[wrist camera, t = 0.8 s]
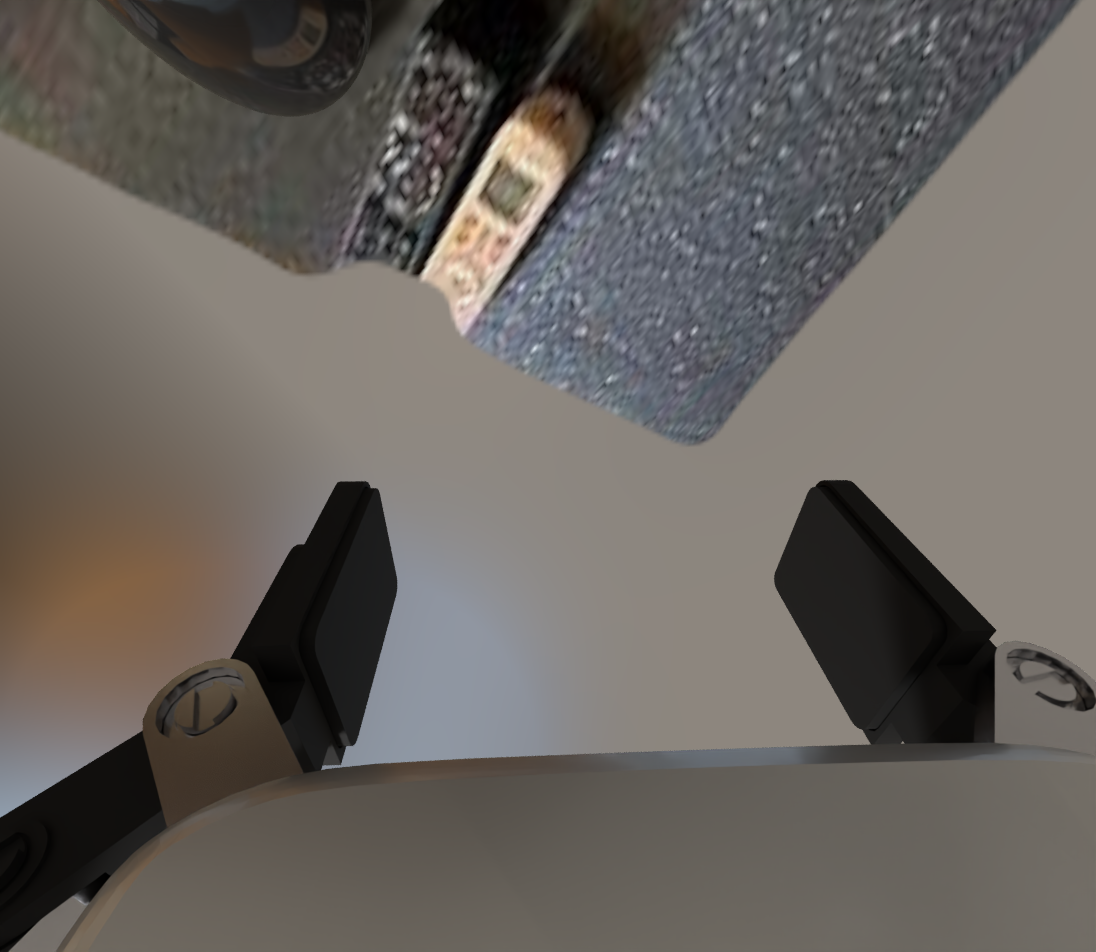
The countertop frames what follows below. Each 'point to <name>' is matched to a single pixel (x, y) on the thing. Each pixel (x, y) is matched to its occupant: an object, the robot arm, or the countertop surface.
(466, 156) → the countertop surface
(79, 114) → the countertop surface
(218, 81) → the pump dispenser
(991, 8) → the countertop surface
